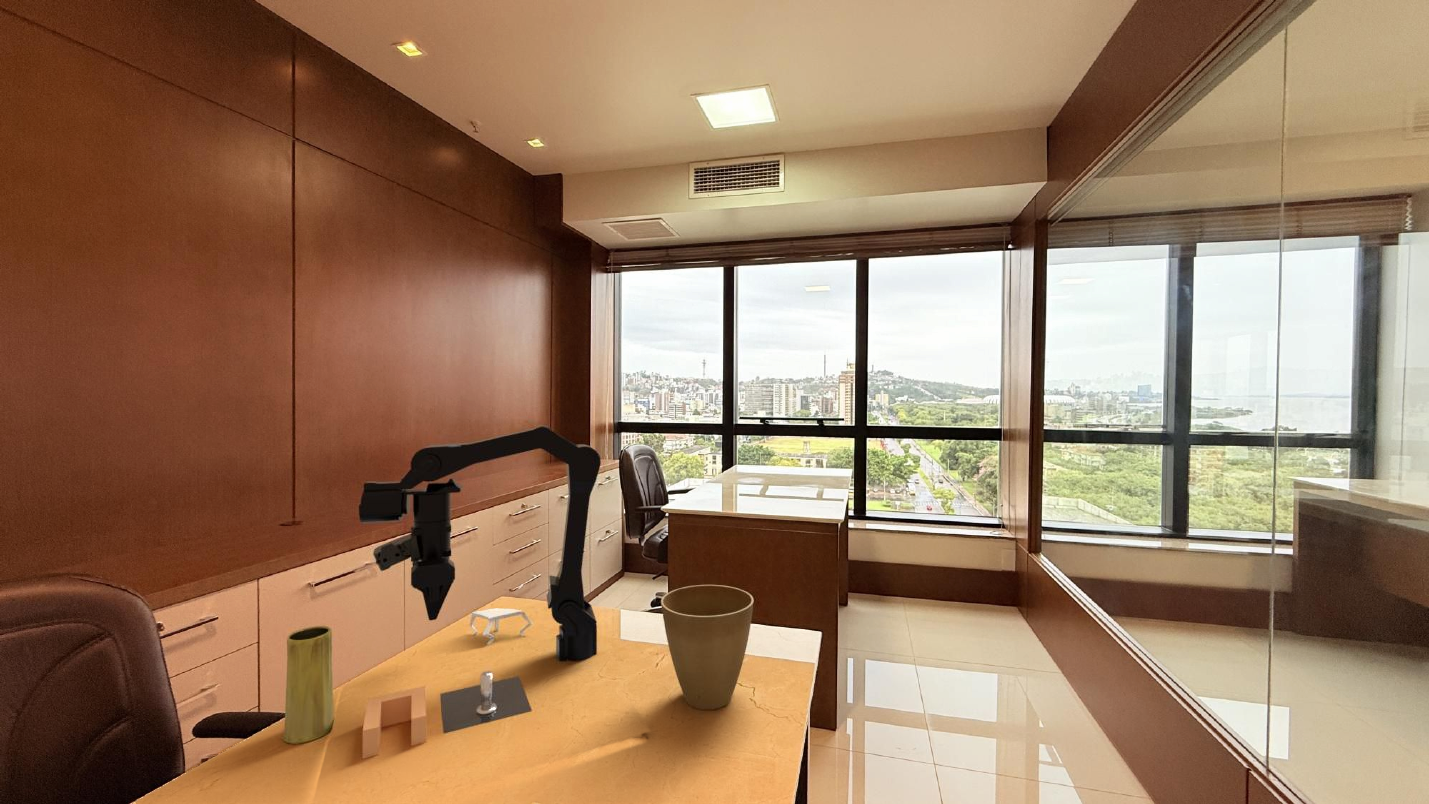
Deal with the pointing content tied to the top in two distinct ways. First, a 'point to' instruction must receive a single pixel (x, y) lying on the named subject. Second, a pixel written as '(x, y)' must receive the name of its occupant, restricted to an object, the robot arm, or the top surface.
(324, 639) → the vase
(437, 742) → the top surface
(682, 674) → the plant pot
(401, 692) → the c link
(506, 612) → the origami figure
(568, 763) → the top surface
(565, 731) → the top surface
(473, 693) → the peg stand
